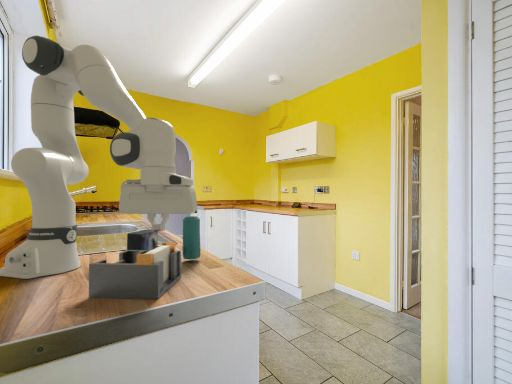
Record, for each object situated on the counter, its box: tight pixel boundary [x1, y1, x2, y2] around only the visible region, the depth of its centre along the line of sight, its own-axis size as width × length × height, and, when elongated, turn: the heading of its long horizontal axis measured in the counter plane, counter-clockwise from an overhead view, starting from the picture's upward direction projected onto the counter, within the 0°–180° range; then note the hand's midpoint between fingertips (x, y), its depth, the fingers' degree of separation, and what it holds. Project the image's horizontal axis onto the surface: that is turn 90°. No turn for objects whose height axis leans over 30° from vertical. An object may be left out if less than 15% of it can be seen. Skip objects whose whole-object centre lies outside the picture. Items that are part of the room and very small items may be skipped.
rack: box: [88, 241, 182, 300], centre depth 66 cm, size 17×15×10 cm
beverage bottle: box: [181, 210, 201, 260], centre depth 90 cm, size 6×7×20 cm
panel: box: [145, 244, 170, 282], centre depth 65 cm, size 2×10×9 cm, turn 177°
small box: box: [126, 229, 159, 250], centre depth 94 cm, size 11×6×10 cm, turn 168°
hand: (158, 230), depth 65 cm, fingers closed
